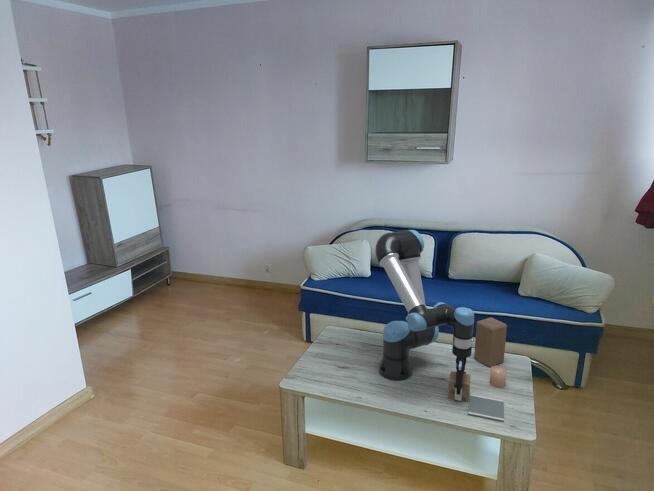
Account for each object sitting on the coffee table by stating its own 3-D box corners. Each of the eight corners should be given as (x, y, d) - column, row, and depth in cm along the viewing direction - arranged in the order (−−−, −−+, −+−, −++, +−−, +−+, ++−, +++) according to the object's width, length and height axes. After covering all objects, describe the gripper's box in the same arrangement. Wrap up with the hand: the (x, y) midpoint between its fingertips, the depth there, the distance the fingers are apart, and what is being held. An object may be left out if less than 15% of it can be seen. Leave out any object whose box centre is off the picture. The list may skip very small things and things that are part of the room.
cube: (447, 398, 181) (449, 381, 179) (449, 387, 188) (451, 371, 186) (468, 402, 178) (469, 384, 176) (469, 391, 186) (470, 374, 183)
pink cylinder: (489, 386, 189) (490, 371, 187) (489, 378, 195) (490, 364, 193) (505, 389, 187) (506, 374, 185) (505, 381, 192) (506, 366, 190)
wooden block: (489, 368, 203) (492, 329, 197) (473, 358, 211) (476, 320, 206) (504, 362, 207) (508, 324, 202) (488, 353, 216) (491, 316, 210)
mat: (468, 414, 170) (468, 412, 170) (470, 396, 182) (470, 394, 182) (503, 422, 166) (504, 420, 166) (503, 402, 178) (503, 400, 177)
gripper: (470, 359, 166) (466, 410, 173) (473, 335, 185) (469, 382, 191) (450, 356, 169) (446, 406, 175) (455, 332, 188) (452, 379, 194)
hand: (458, 393), depth 183 cm, fingers closed on cube, 8 cm apart
